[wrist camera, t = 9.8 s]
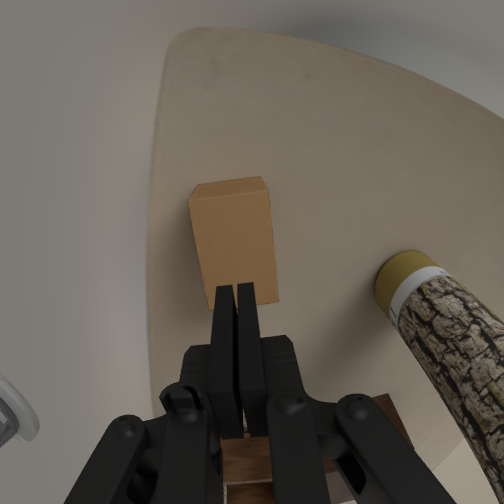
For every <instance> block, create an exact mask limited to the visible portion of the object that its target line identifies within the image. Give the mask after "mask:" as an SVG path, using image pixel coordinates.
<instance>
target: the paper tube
mask: <svg viewBox="0 0 504 504" xmlns="http://www.w3.org/2000/svg"><path fill="white" fill-rule="evenodd" d="M375 296H376V299H377V302H378V304H379V305H380V307H381V308H382V309H383V311H384V312H385V314H386V315H387V316H388V318H389V319H390V321H391V322H392V324H393V325H394V327H395V328H396V330H397V331H398V333H399V334H400V336H401V337H402V338H403V340H404V341H405V343H406V344H407V346H408V347H409V349H410V350H411V352H412V353H413V355H414V356H415V358H416V359H417V361H418V362H419V364H420V365H421V367H422V368H423V370H424V371H425V373H426V375H427V376H428V378H429V379H430V381H431V382H432V384H433V386H434V387H435V389H436V390H437V392H438V393H439V395H440V397H441V398H442V400H443V402H444V403H445V405H446V406H447V408H448V410H449V411H450V413H451V415H452V416H453V418H454V420H455V421H456V423H457V425H458V427H459V428H460V430H461V432H462V433H463V435H464V437H465V439H466V440H467V442H468V444H469V446H470V448H471V449H472V451H473V453H474V455H475V457H476V458H477V460H478V462H479V464H480V466H481V468H482V470H483V472H484V474H485V475H486V477H487V479H488V481H489V483H490V485H491V487H492V489H493V491H494V493H495V495H496V497H497V499H498V501H499V504H504V323H503V322H502V321H501V320H500V319H499V318H498V317H497V316H496V315H495V314H494V313H493V312H492V311H491V310H490V309H488V308H487V307H486V306H485V305H484V304H483V303H482V302H481V301H480V300H479V299H478V298H476V297H475V296H474V295H473V294H472V293H471V292H470V291H469V290H467V289H466V288H465V287H464V286H463V285H462V284H460V283H459V282H458V281H457V280H456V279H455V278H453V277H452V276H451V275H450V274H449V273H447V272H446V271H445V270H444V269H442V268H441V267H440V266H439V265H437V264H436V263H435V262H434V261H432V260H431V259H430V258H429V257H428V256H426V255H425V254H423V253H421V252H419V251H405V252H402V253H399V254H397V255H395V256H394V257H392V258H391V259H390V260H389V261H388V262H387V263H386V264H385V265H384V266H383V268H382V269H381V271H380V273H379V275H378V277H377V280H376V284H375Z"/></svg>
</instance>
